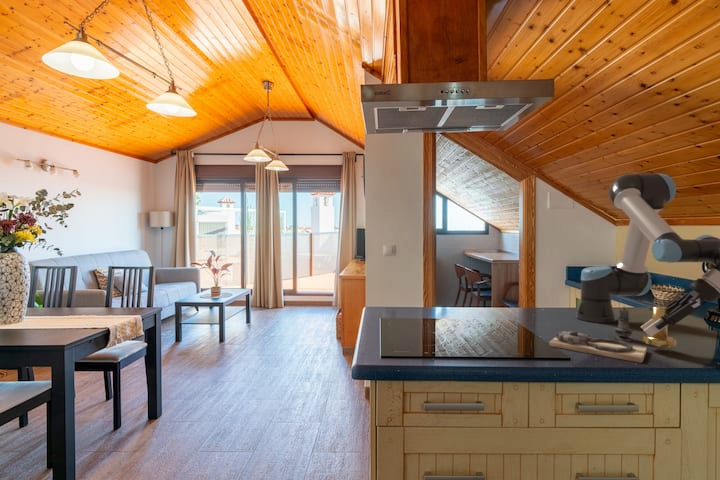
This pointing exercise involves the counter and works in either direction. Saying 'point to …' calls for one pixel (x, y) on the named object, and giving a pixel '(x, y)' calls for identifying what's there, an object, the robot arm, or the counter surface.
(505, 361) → the counter surface
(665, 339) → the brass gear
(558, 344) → the gear board
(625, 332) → the stone chess piece
